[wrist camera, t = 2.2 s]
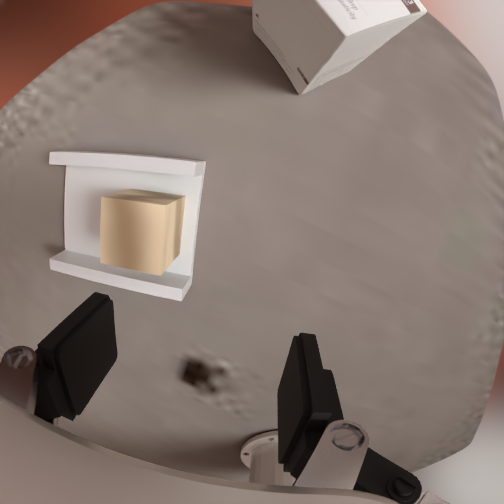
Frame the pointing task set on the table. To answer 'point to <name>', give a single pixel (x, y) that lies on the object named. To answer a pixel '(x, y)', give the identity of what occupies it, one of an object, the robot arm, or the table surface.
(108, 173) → the u-shaped channel
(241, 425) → the table surface
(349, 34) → the skincare box
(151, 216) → the birch block
